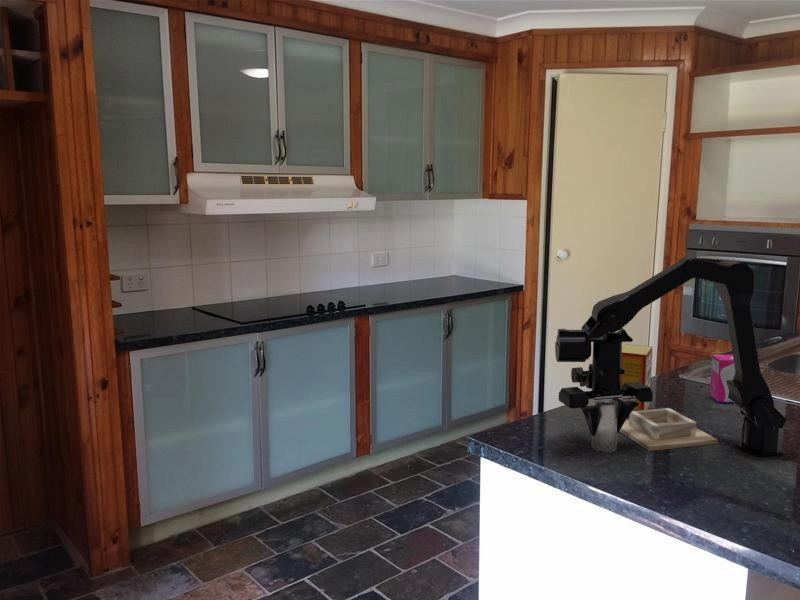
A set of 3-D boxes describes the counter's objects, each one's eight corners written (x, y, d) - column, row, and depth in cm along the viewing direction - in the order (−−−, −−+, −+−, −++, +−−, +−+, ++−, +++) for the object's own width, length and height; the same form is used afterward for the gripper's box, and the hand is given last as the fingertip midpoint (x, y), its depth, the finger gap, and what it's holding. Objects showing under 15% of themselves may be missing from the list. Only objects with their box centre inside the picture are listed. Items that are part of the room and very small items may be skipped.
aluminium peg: (621, 451, 138) (622, 404, 136) (598, 453, 137) (600, 406, 135) (608, 442, 142) (610, 397, 141) (587, 444, 141) (588, 399, 140)
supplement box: (732, 396, 171) (734, 353, 169) (741, 404, 165) (744, 359, 164) (708, 396, 172) (711, 353, 170) (717, 403, 166) (720, 359, 164)
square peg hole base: (717, 443, 140) (718, 425, 140) (649, 451, 137) (649, 432, 137) (672, 419, 156) (672, 402, 155) (609, 425, 153) (610, 408, 152)
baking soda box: (622, 404, 167) (624, 342, 165) (649, 407, 164) (652, 345, 162) (614, 415, 159) (617, 350, 157) (643, 419, 156) (646, 353, 153)
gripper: (627, 349, 146) (624, 417, 149) (548, 355, 142) (546, 424, 145) (656, 362, 135) (652, 435, 138) (571, 369, 132) (569, 443, 134)
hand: (604, 433), depth 139 cm, fingers closed on aluminium peg, 5 cm apart
